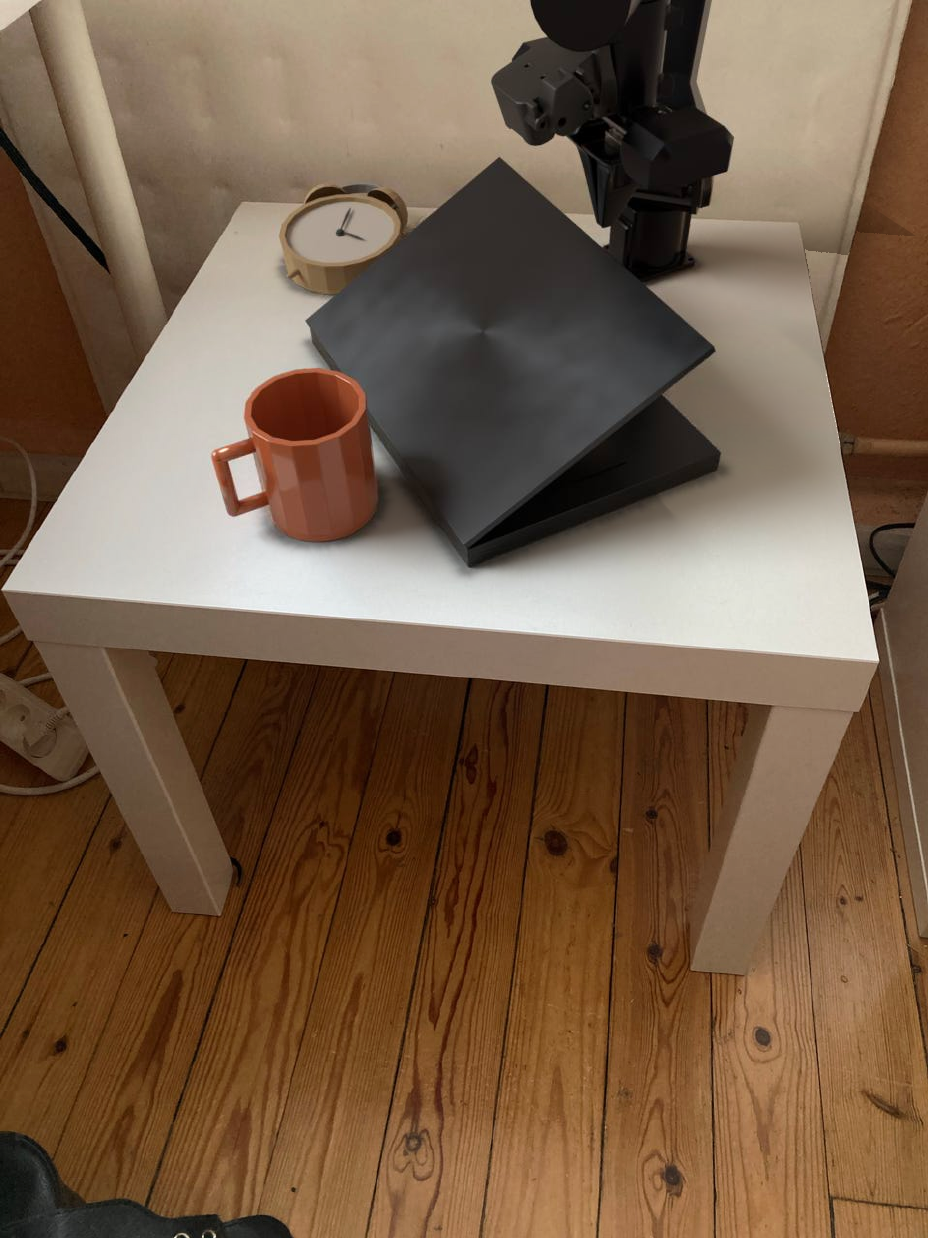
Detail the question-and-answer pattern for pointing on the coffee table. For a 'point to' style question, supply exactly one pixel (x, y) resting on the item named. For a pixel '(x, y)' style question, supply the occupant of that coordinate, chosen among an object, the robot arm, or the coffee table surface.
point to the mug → (306, 455)
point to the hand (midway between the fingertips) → (605, 224)
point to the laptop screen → (501, 347)
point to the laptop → (587, 477)
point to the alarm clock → (340, 234)
